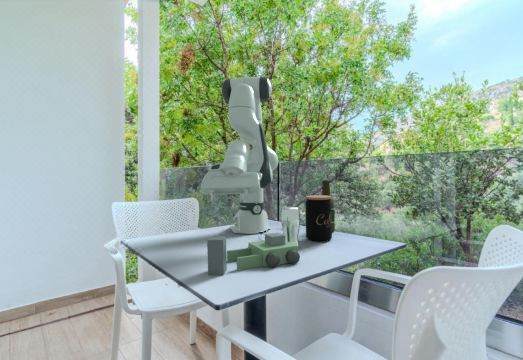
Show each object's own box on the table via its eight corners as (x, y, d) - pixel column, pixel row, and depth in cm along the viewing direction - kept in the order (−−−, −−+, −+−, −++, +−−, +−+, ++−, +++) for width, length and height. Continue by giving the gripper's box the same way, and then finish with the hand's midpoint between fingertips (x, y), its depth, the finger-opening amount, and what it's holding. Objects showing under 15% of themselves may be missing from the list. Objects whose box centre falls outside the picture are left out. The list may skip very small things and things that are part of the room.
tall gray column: (211, 269, 93) (211, 236, 93) (226, 269, 92) (226, 236, 92) (208, 274, 88) (207, 239, 88) (223, 275, 88) (222, 239, 88)
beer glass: (299, 250, 113) (299, 209, 113) (280, 249, 114) (279, 209, 114) (301, 245, 120) (300, 206, 119) (283, 245, 121) (282, 206, 121)
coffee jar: (317, 243, 123) (316, 198, 122) (300, 238, 132) (300, 196, 131) (337, 240, 128) (337, 196, 127) (320, 235, 137) (319, 194, 137)
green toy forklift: (224, 259, 104) (223, 235, 104) (277, 251, 112) (276, 229, 112) (242, 273, 89) (241, 245, 89) (301, 262, 98) (300, 237, 98)
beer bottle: (317, 229, 150) (316, 180, 150) (333, 229, 150) (332, 179, 149) (319, 233, 143) (318, 180, 142) (336, 233, 142) (335, 180, 141)
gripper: (263, 177, 112) (260, 207, 102) (208, 179, 115) (200, 208, 105) (261, 164, 107) (257, 194, 98) (204, 166, 111) (195, 195, 101)
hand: (227, 201), depth 101 cm, fingers open, 8 cm apart
